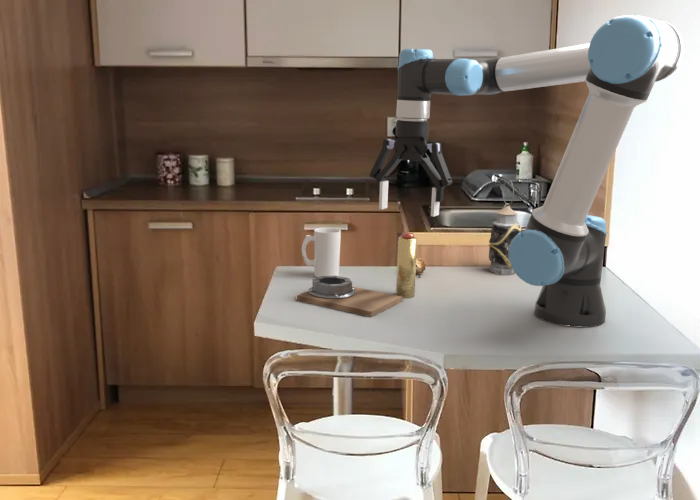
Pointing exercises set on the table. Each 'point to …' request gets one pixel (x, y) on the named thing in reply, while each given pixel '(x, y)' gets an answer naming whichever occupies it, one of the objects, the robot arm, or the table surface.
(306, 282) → the table surface
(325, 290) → the flange socket
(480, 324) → the table surface
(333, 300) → the board
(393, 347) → the table surface
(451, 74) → the robot arm
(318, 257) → the mug
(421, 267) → the figurine
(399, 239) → the gold cylinder
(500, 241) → the lantern
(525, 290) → the table surface
